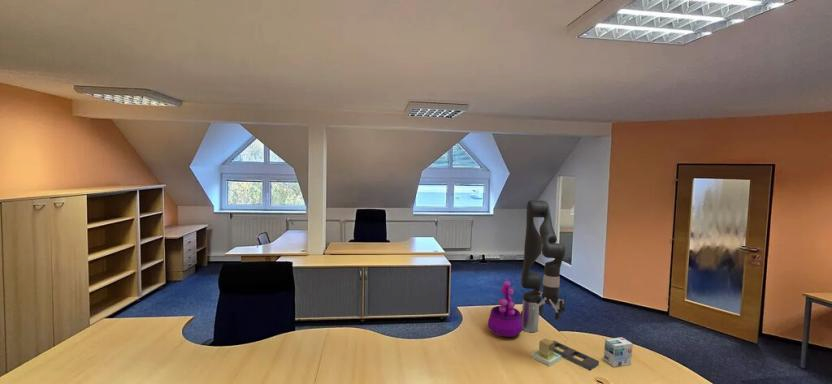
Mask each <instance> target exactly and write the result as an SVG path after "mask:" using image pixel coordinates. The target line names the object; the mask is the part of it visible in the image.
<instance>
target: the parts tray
mask: <svg viewBox="0 0 832 384" xmlns="http://www.w3.org/2000/svg"><path fill="white" fill-rule="evenodd" d="M530 357H531V358H533V360H534V359H535V360H537V361H538V362H540V363H542V364H544V365H546V366H548V367H550V366H552V365H554V364H557V363H558V362H560V361H561V360H562V357H561V355H559V354H557V353H555V352H554V358H552V359H551V360H549V361H548V360H546V359H544V358H542V357H540V356H539V348H538V349H536V350H535V351H533V352H531V356H530Z"/></svg>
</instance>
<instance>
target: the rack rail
mask: <svg viewBox="0 0 832 384" xmlns="http://www.w3.org/2000/svg"><path fill="white" fill-rule="evenodd" d="M552 341H553V342H555V343H554V352H555V353H557V354H559V355H561V358H564V359H566V360H568V361H570V362H572V363H573V364H576V365H578V366H581V367H583V368H584V369H586V370H588V371H592V370H594V369H595V368H596V367H599V364H600V360H598V359H596V358H593V357H591V356H589V355H586V354H584V353H582V352H580V351H579V350H576V349H574V348H571V347H569V346H567V345H565V344H562V343H561V342H558V341H556V340H552ZM557 348H559V349H561V350H563V351H561V350H559V349H557ZM575 356H577V357H578V358H580V359H583V360H580V359H578V358H576V357H575Z"/></svg>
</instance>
